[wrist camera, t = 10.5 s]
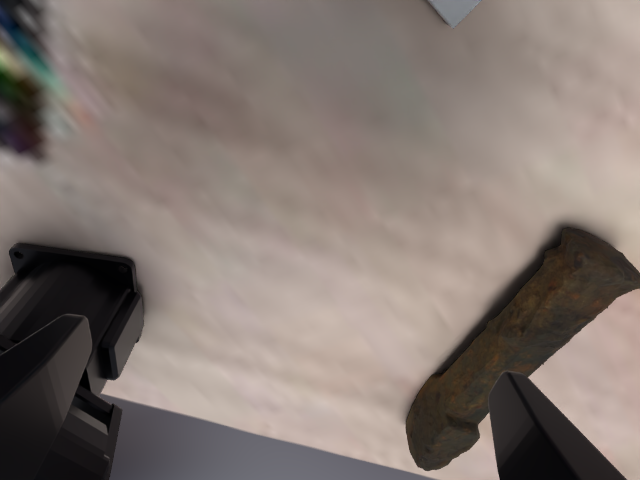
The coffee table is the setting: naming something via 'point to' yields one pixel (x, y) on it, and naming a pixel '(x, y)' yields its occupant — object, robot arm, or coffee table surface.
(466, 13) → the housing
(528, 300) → the hand tool
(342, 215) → the coffee table surface
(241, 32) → the coffee table surface
